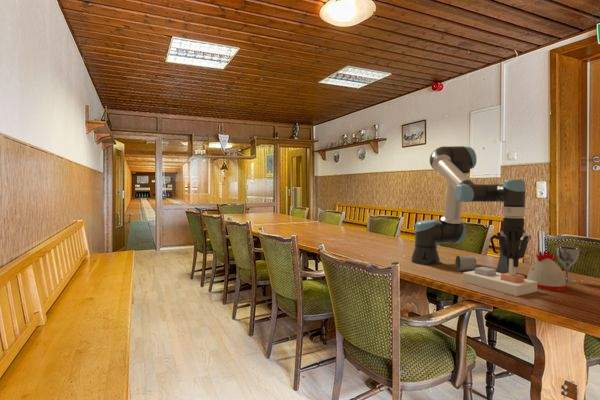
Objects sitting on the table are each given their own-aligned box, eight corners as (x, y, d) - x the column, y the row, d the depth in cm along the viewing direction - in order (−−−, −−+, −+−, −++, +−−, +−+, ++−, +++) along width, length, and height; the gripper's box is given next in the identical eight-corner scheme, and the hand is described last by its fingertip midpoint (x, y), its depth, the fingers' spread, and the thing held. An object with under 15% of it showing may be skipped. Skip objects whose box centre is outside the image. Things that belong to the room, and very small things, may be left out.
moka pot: (519, 277, 166) (520, 234, 165) (485, 271, 177) (486, 231, 177) (526, 273, 172) (527, 233, 171) (492, 268, 184) (493, 230, 183)
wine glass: (557, 277, 166) (558, 245, 165) (579, 280, 160) (580, 247, 159) (554, 280, 160) (555, 247, 159) (576, 284, 154) (577, 249, 154)
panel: (462, 281, 159) (462, 272, 158) (482, 277, 165) (482, 269, 165) (516, 296, 137) (516, 286, 137) (537, 291, 144) (537, 281, 144)
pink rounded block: (500, 282, 147) (500, 274, 147) (509, 280, 150) (509, 272, 150) (515, 286, 142) (515, 277, 142) (523, 284, 145) (524, 275, 144)
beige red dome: (519, 281, 159) (520, 248, 159) (551, 281, 159) (552, 248, 158) (539, 290, 145) (540, 254, 145) (574, 290, 145) (575, 254, 144)
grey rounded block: (474, 275, 158) (474, 268, 158) (483, 274, 160) (483, 266, 160) (487, 279, 152) (487, 271, 152) (495, 277, 155) (496, 269, 155)
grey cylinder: (477, 272, 175) (477, 256, 175) (460, 272, 176) (460, 256, 176) (468, 267, 186) (468, 253, 186) (452, 267, 186) (452, 253, 186)
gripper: (492, 216, 149) (491, 272, 150) (524, 218, 137) (523, 279, 138) (503, 215, 152) (502, 270, 153) (535, 218, 141) (534, 276, 142)
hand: (512, 274), depth 146 cm, fingers closed
